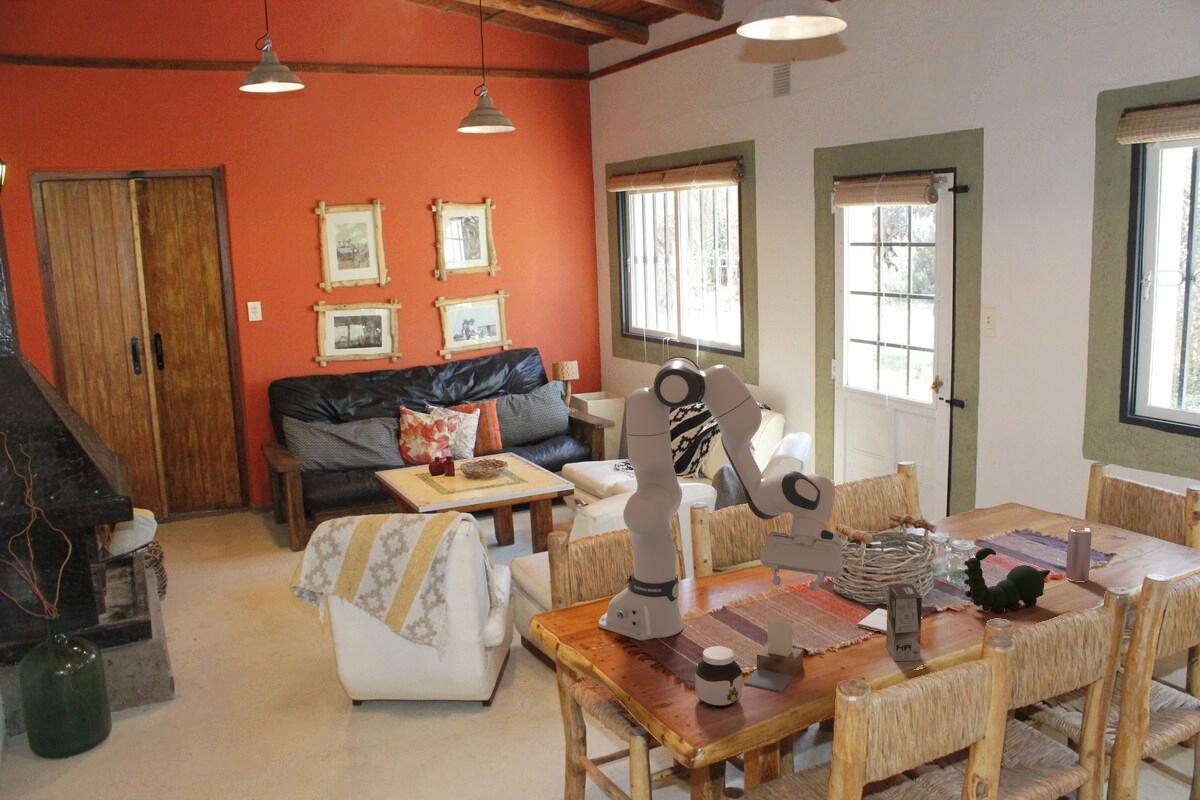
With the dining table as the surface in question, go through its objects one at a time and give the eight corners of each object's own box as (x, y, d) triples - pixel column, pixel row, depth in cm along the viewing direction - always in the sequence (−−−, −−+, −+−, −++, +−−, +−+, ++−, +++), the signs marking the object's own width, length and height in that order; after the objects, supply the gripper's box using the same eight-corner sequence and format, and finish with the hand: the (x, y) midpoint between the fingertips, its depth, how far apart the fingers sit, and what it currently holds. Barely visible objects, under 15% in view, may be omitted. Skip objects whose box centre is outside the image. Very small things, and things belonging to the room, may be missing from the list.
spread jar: (708, 714, 222) (708, 664, 220) (682, 692, 232) (681, 644, 230) (754, 701, 227) (754, 652, 225) (727, 680, 237) (727, 633, 235)
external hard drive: (856, 629, 264) (877, 613, 274) (887, 636, 259) (906, 620, 268) (857, 623, 264) (877, 607, 273) (887, 630, 259) (906, 614, 268)
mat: (744, 684, 235) (744, 682, 235) (756, 670, 242) (756, 668, 242) (781, 692, 230) (781, 690, 230) (793, 677, 237) (793, 676, 237)
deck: (756, 670, 242) (756, 654, 241) (767, 658, 248) (767, 643, 247) (793, 677, 237) (793, 661, 236) (802, 665, 243) (803, 649, 242)
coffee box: (921, 661, 244) (923, 598, 240) (894, 661, 244) (895, 598, 241) (910, 644, 253) (912, 583, 249) (884, 645, 253) (886, 584, 250)
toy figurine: (980, 626, 266) (1062, 605, 272) (977, 558, 262) (1061, 539, 268) (959, 612, 275) (1039, 593, 281) (956, 546, 271) (1037, 528, 276)
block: (767, 652, 242) (767, 621, 240) (772, 647, 244) (772, 616, 243) (787, 656, 239) (788, 624, 238) (792, 651, 242) (792, 620, 240)
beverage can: (1062, 575, 294) (1065, 526, 291) (1084, 576, 293) (1087, 526, 290) (1069, 583, 288) (1072, 532, 285) (1091, 583, 288) (1094, 533, 285)
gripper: (764, 525, 257) (750, 574, 250) (844, 535, 247) (832, 587, 240) (770, 536, 262) (757, 585, 255) (849, 547, 252) (837, 598, 245)
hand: (794, 586), depth 248 cm, fingers open, 8 cm apart
